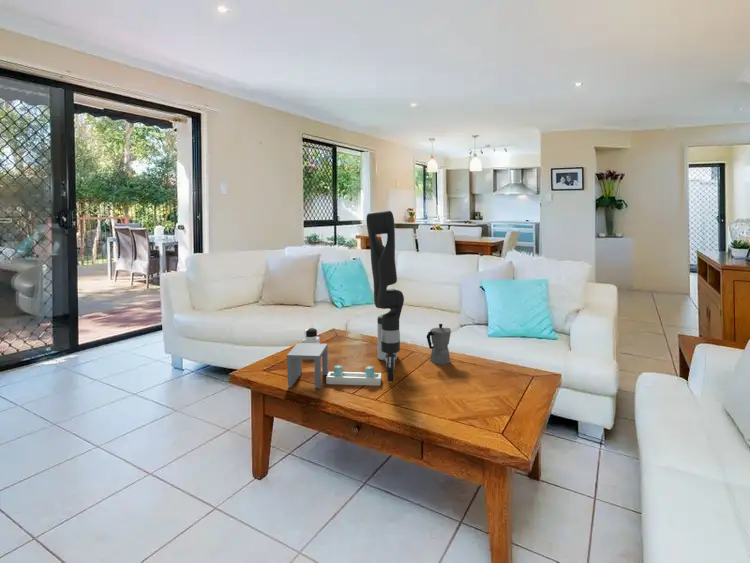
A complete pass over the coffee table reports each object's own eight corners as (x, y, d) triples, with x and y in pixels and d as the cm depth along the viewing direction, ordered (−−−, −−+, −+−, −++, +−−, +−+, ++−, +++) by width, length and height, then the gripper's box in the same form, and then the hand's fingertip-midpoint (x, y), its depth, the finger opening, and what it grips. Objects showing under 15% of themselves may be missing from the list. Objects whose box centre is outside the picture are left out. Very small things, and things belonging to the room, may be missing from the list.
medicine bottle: (320, 350, 225) (319, 327, 223) (316, 355, 218) (316, 331, 216) (306, 350, 226) (305, 327, 224) (302, 354, 219) (301, 330, 217)
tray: (381, 379, 186) (381, 365, 185) (380, 385, 180) (380, 370, 179) (329, 378, 188) (328, 364, 187) (326, 383, 182) (326, 369, 181)
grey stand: (328, 373, 193) (327, 343, 191) (320, 388, 177) (319, 355, 175) (298, 373, 194) (297, 343, 192) (288, 387, 179) (286, 355, 176)
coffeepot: (442, 355, 216) (442, 319, 213) (457, 360, 208) (458, 323, 206) (419, 363, 206) (419, 325, 203) (434, 368, 199) (435, 329, 196)
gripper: (399, 344, 173) (399, 387, 176) (400, 335, 186) (400, 375, 189) (379, 344, 174) (380, 386, 176) (382, 334, 187) (382, 374, 189)
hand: (390, 380), depth 183 cm, fingers closed
